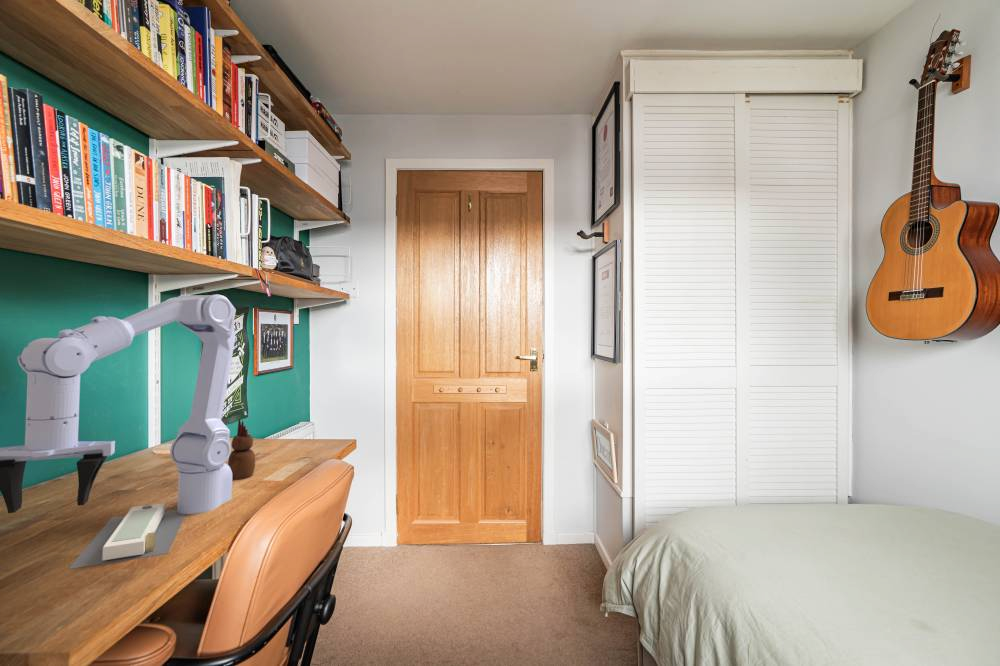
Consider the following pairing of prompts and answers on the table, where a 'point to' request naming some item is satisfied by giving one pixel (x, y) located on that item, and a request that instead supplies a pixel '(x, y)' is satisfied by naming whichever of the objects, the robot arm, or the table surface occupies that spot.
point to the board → (155, 541)
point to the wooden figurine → (242, 454)
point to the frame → (133, 532)
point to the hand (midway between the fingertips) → (49, 506)
